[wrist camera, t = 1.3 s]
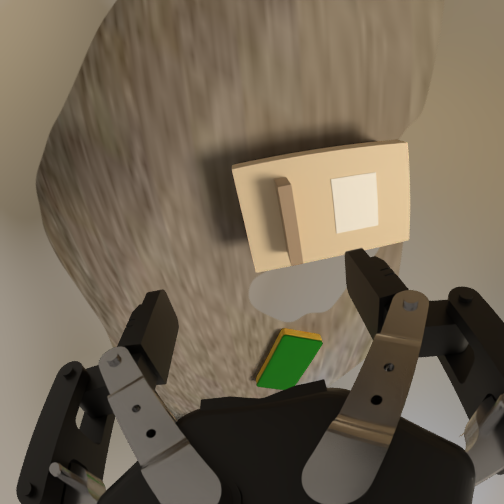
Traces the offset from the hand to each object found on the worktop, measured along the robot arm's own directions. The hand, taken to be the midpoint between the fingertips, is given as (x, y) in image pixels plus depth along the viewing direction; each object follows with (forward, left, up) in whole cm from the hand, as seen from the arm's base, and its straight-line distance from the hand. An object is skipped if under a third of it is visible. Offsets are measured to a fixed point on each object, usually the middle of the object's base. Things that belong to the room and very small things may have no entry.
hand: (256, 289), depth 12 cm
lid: (+4, +8, -19) cm, 22 cm away
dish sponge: (+33, 0, -25) cm, 41 cm away
